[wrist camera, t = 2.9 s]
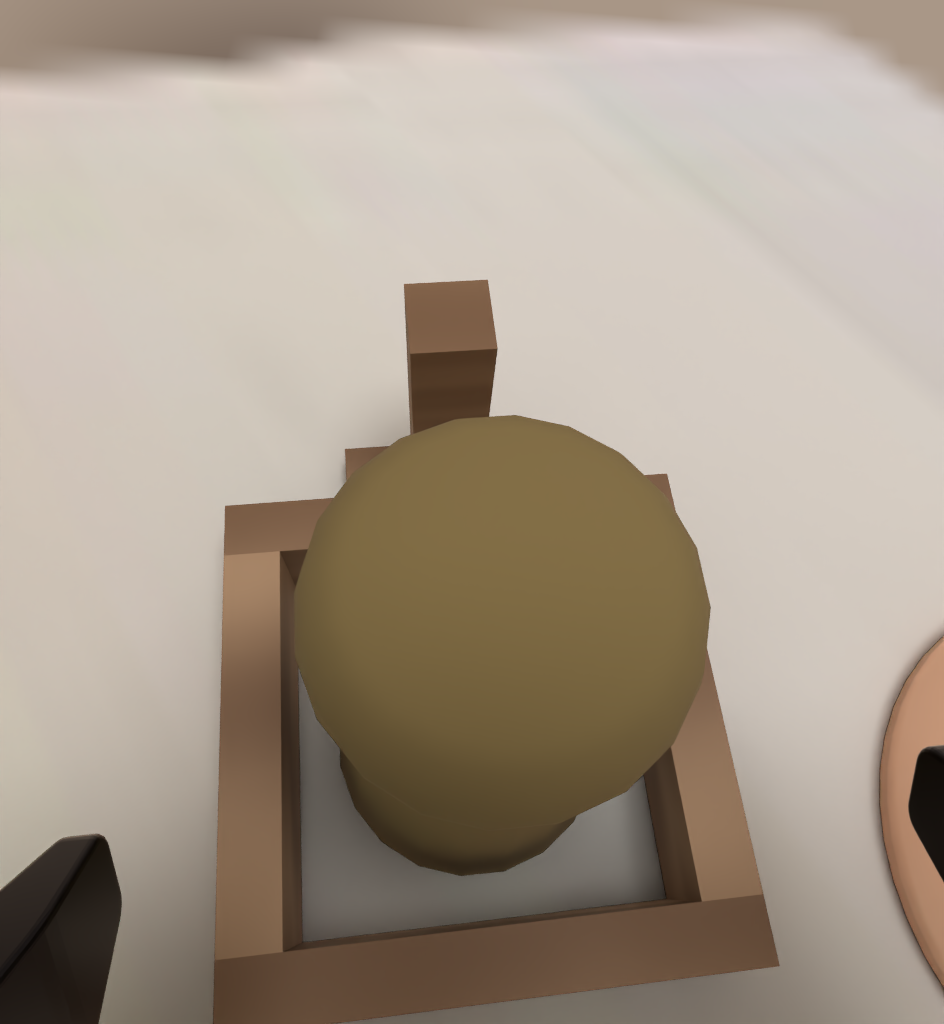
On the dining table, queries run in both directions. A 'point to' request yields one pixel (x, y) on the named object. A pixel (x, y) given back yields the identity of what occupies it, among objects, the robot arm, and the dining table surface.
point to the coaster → (913, 726)
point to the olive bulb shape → (497, 636)
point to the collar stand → (459, 947)
